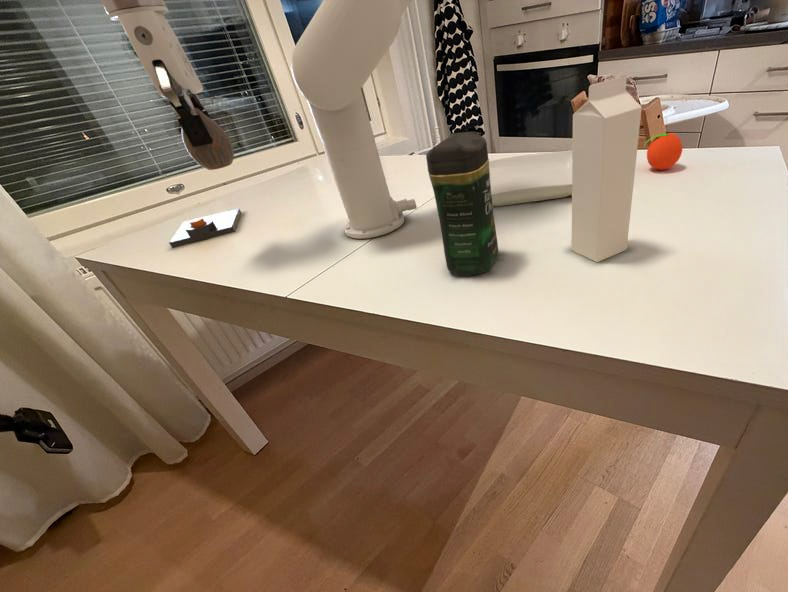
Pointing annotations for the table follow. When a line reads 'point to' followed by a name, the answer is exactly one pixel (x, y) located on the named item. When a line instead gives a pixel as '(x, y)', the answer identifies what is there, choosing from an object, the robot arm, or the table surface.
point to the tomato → (664, 151)
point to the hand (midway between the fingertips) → (206, 140)
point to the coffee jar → (464, 202)
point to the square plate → (531, 178)
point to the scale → (207, 228)
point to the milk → (604, 169)
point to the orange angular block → (197, 222)
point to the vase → (211, 146)
